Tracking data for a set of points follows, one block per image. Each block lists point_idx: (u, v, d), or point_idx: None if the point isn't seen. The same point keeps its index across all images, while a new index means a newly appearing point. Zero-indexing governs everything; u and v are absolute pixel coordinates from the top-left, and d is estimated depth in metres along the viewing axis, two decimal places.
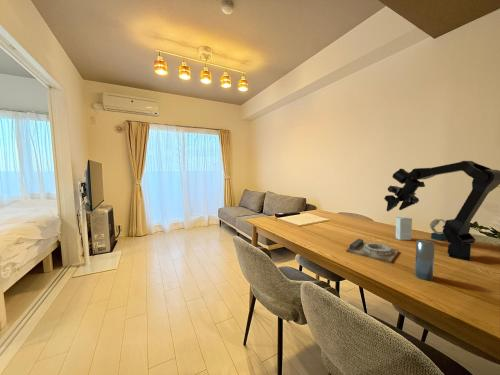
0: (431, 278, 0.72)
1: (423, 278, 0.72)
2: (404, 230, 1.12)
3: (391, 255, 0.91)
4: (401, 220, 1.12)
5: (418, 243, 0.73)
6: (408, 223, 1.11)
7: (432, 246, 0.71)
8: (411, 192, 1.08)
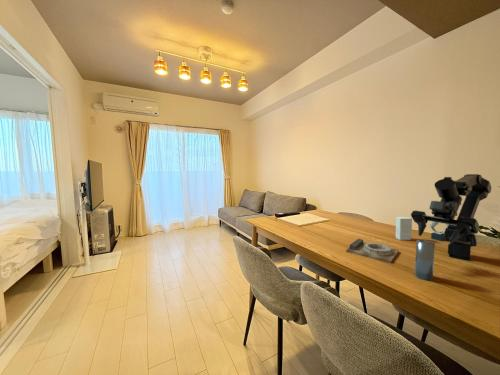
0: (431, 278, 0.72)
1: (423, 278, 0.72)
2: (404, 230, 1.12)
3: (391, 255, 0.91)
4: (401, 220, 1.12)
5: (418, 243, 0.73)
6: (408, 223, 1.11)
7: (432, 246, 0.71)
8: None
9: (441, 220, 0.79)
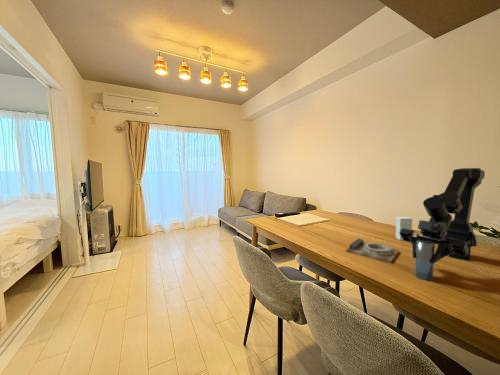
0: (431, 278, 0.72)
1: (423, 278, 0.72)
2: None
3: (391, 255, 0.91)
4: (401, 220, 1.12)
5: (418, 243, 0.73)
6: (408, 223, 1.11)
7: (432, 246, 0.71)
8: None
9: (430, 240, 0.75)
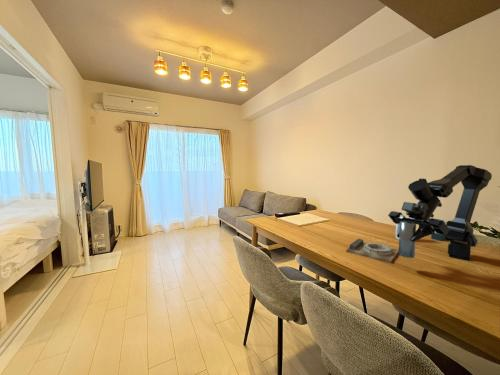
0: (412, 255, 0.77)
1: (404, 255, 0.78)
2: None
3: (391, 255, 0.91)
4: None
5: (400, 223, 0.79)
6: None
7: (412, 225, 0.76)
8: None
9: (414, 221, 0.80)
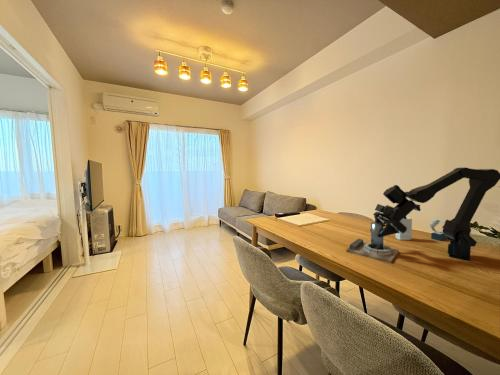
0: None
1: None
2: None
3: (391, 255, 0.91)
4: (401, 220, 1.12)
5: None
6: (408, 223, 1.11)
7: (377, 226, 0.93)
8: (406, 215, 0.92)
9: (387, 221, 0.94)
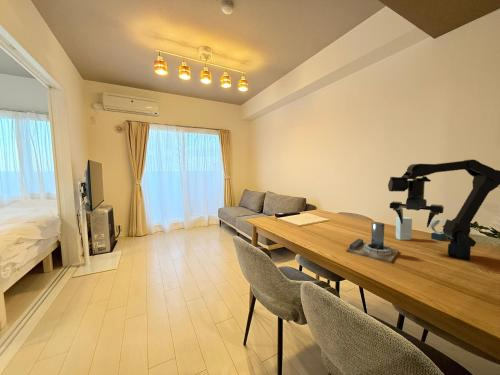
0: None
1: None
2: (404, 230, 1.12)
3: (391, 255, 0.91)
4: None
5: None
6: (408, 223, 1.11)
7: (378, 226, 0.93)
8: None
9: None
